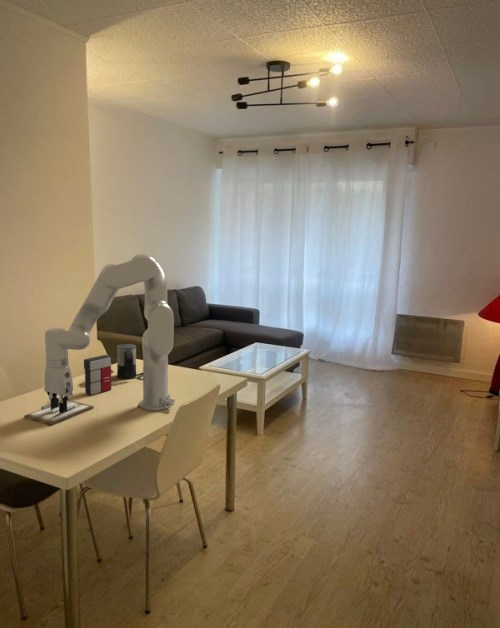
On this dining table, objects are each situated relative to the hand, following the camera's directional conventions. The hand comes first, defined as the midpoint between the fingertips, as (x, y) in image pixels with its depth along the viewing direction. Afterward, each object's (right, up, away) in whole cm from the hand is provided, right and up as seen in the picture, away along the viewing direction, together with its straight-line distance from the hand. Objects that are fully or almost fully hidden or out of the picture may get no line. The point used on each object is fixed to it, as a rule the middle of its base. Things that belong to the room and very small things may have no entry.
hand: (59, 410), depth 177 cm
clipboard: (-1, -1, +3) cm, 3 cm away
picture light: (0, -1, 0) cm, 1 cm away
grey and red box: (+6, +2, +27) cm, 28 cm away
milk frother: (+16, +6, +50) cm, 53 cm away
